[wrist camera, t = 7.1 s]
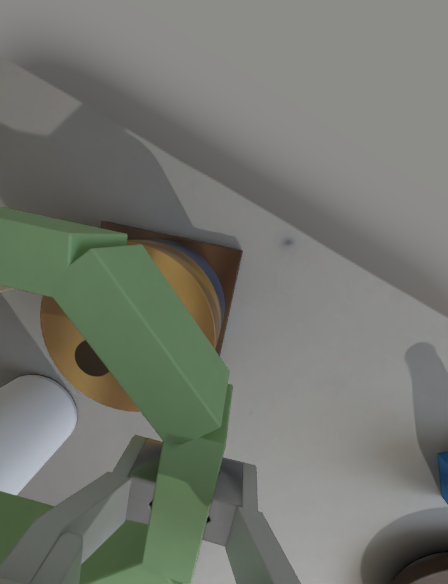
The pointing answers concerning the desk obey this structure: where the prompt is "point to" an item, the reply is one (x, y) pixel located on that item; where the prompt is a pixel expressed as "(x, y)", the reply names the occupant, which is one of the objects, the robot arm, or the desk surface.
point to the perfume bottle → (444, 474)
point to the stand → (187, 285)
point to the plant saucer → (425, 571)
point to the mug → (31, 427)
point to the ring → (130, 385)
